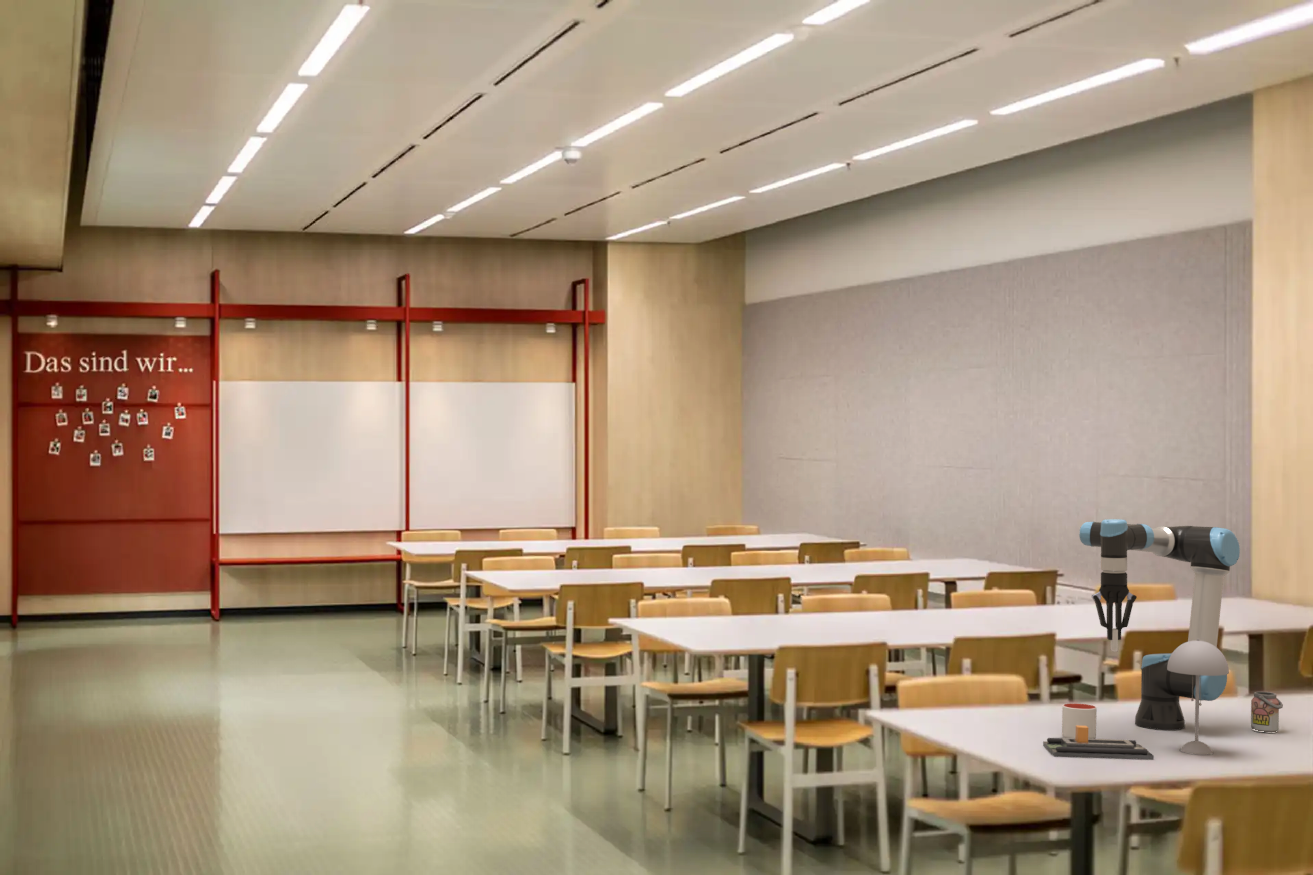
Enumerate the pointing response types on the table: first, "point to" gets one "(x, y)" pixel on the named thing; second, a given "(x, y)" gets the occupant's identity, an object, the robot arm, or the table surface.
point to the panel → (1098, 755)
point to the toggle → (1081, 734)
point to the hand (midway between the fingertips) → (1114, 650)
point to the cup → (1078, 719)
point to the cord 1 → (1058, 740)
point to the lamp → (1197, 678)
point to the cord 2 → (1101, 750)
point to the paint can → (1265, 712)
